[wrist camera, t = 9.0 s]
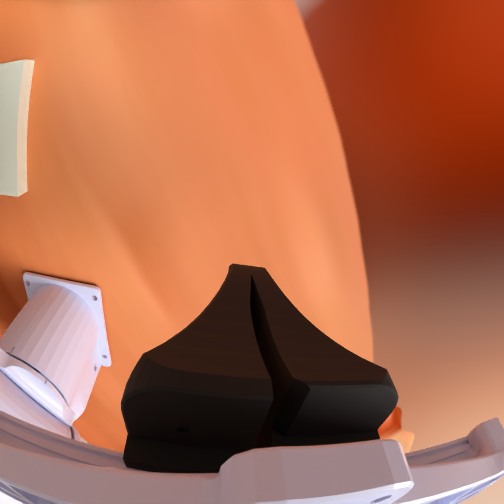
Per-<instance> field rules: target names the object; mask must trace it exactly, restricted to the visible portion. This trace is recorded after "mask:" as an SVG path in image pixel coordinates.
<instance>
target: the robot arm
mask: <svg viewBox="0 0 504 504" xmlns="http://www.w3.org/2000/svg"><path fill="white" fill-rule="evenodd" d="M23 281H24V285H25V289H26V293H27V297H28V302H27V303H26V304H25V305H24V307H23V308H22V309H21V311H20V312H19V313H18V315H17V316H16V317H15V319H14V320H13V322H12V323H11V324H10V326H9V327H8V329H7V330H6V331H5V333H4V334H3V336H2V337H1V339H0V504H458V503H460V502H462V501H464V500H466V499H468V498H470V497H472V496H474V495H476V494H478V493H479V492H481V491H482V490H484V489H485V488H487V487H488V486H490V485H491V484H493V483H494V482H495V481H497V480H498V479H499V478H501V477H502V476H503V475H504V428H503V426H502V424H501V423H500V421H499V419H498V418H493V419H491V420H488V421H485V422H483V423H481V424H479V425H477V426H476V427H475V428H474V429H473V430H472V431H471V432H470V433H469V434H468V435H467V436H466V437H463V438H460V439H457V440H454V441H451V442H448V443H444V444H441V445H437V446H434V447H430V448H426V449H423V450H418V451H414V452H410V453H405V454H404V451H403V449H402V446H401V445H400V444H399V442H398V441H396V440H392V439H380V437H379V434H378V431H377V429H378V428H379V427H380V426H381V425H382V423H383V422H384V421H385V420H386V419H387V418H388V416H389V415H390V414H391V413H392V411H393V410H394V408H395V407H396V405H397V402H398V394H397V391H396V388H395V386H394V384H393V382H392V380H391V377H390V375H389V373H388V371H387V370H386V369H385V368H382V367H380V366H378V365H376V364H374V363H372V362H369V361H367V360H365V359H363V358H361V357H359V356H358V355H356V354H354V353H352V352H351V351H349V350H347V349H345V348H344V347H342V346H341V345H339V344H338V343H336V342H335V341H333V340H332V339H331V338H329V337H328V336H327V335H325V334H324V333H323V332H321V331H320V330H319V329H318V328H316V327H315V326H314V325H313V324H312V323H311V322H310V321H309V320H307V319H306V318H305V317H304V316H303V315H302V314H301V313H300V312H299V311H298V309H297V308H296V307H295V306H294V305H293V304H292V303H291V302H290V301H289V299H288V298H287V297H286V296H285V295H284V293H283V292H282V291H281V290H280V288H279V287H278V286H277V284H276V283H275V281H274V280H273V279H272V277H271V276H270V274H269V273H268V272H267V270H266V269H265V268H262V267H254V266H247V265H239V264H232V265H230V266H229V271H228V274H227V277H226V279H225V281H224V283H223V284H222V286H221V288H220V290H219V291H218V293H217V294H216V295H215V297H214V298H213V300H212V301H211V302H210V304H209V305H208V306H207V307H206V308H205V309H204V311H203V312H202V313H201V314H200V315H199V316H198V317H197V318H196V319H195V320H194V321H193V322H191V323H190V324H189V325H188V326H187V327H186V328H185V329H183V330H182V331H181V332H179V333H178V334H176V335H175V336H173V337H172V338H171V339H169V340H168V341H166V342H165V343H163V344H161V345H159V346H157V347H156V348H154V349H152V350H150V351H148V352H146V353H144V354H143V355H142V356H141V358H140V359H139V361H138V362H137V364H136V366H135V368H134V369H133V371H132V373H131V375H130V377H129V379H128V382H127V384H126V387H125V390H124V394H123V397H122V401H121V411H122V415H123V418H124V422H125V426H126V429H127V432H128V436H127V440H126V445H125V450H124V453H122V452H118V451H114V450H110V449H106V448H102V447H98V446H95V445H91V444H88V443H84V442H81V440H80V435H79V432H78V430H77V429H76V428H75V427H74V426H72V424H73V421H74V420H76V419H77V418H78V417H79V416H80V415H81V414H82V413H83V412H84V410H85V408H86V405H87V402H88V399H89V396H90V394H91V391H92V388H93V385H94V383H95V380H96V377H97V375H98V372H99V369H100V367H101V365H102V366H107V367H108V366H110V365H111V357H110V351H109V346H108V340H107V334H106V327H105V321H104V313H103V306H102V297H101V291H100V289H99V288H98V287H97V286H94V285H89V284H83V283H78V282H73V281H68V280H63V279H58V278H53V277H49V276H44V275H39V274H35V273H30V272H25V273H24V274H23ZM94 296H96V297H97V298H95V297H94Z"/></svg>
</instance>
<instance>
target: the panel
mask: <svg viewBox="0 0 504 504" xmlns="http://www.w3.org/2000/svg"><path fill="white" fill-rule="evenodd" d="M34 62H35V60H19V61H13V62H8V63H3V64H0V195H8V196H16V197H19V196H20V195H22V194H24V193H25V192H27V125H28V110H29V99H30V90H31V82H32V74H33V68H34Z"/></svg>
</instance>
